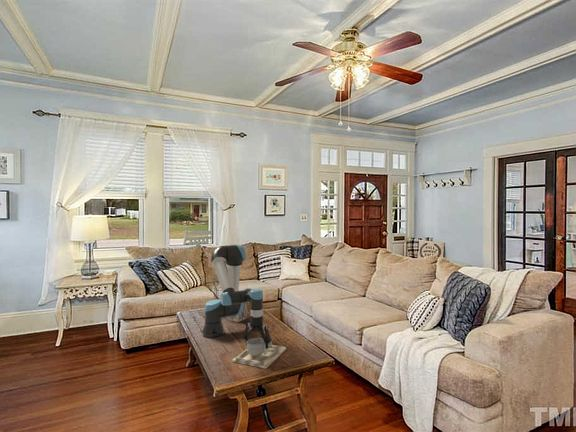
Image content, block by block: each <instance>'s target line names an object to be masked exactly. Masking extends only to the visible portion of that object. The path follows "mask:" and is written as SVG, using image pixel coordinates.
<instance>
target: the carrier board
mask: <svg viewBox="0 0 576 432" xmlns="http://www.w3.org/2000/svg"><path fill="white" fill-rule="evenodd" d="M285 351H287V347H285V346H281V345H275V344H273V342H272V339H271V342H270V343H268V349H267V354H266V355H264V352H263V353H262V354H261V355H259V356H252V355H251V354H249V353H248V352H247V348H245V349H244V350H243V351H242V352H241V353H240V354H238V355H237V356H236V357H234V358H233V359H232V363H237V364H240V365H246V366H250V367H256V368H260V369H267V368H268V367H270V365H272V363H273V362H275V361H276V360H277V359H278V358H279V357H280V356H281V355H282V354H283V353H284V352H285Z"/></svg>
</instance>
